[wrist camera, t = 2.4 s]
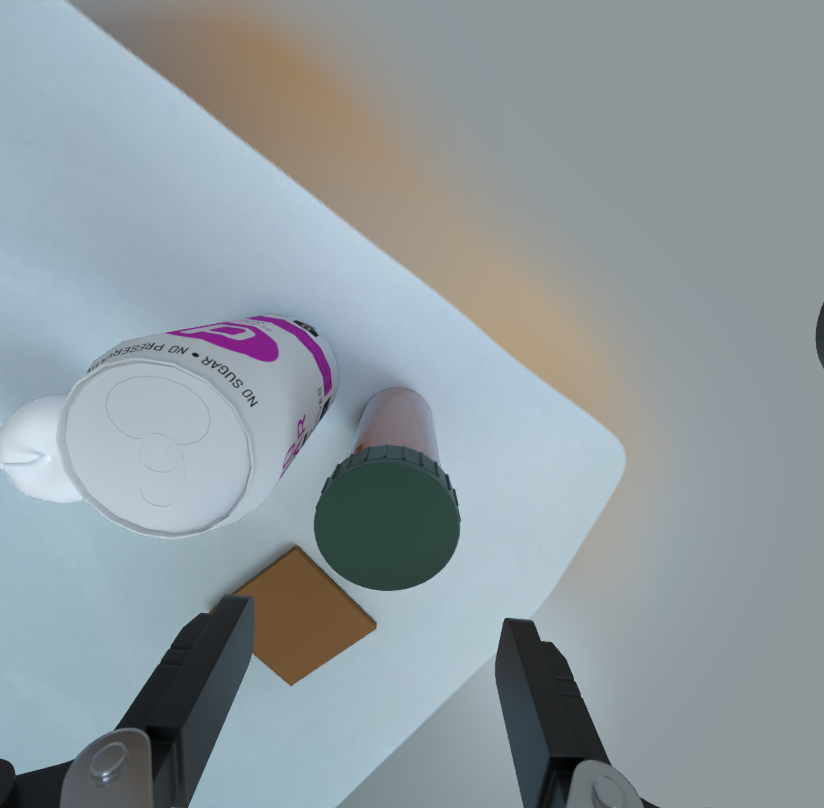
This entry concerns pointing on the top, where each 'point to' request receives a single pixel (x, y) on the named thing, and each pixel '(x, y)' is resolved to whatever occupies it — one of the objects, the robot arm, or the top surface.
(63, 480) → the plain white apple
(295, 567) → the coaster
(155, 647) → the top surface
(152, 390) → the supplement can
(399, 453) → the lid
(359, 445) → the jar
